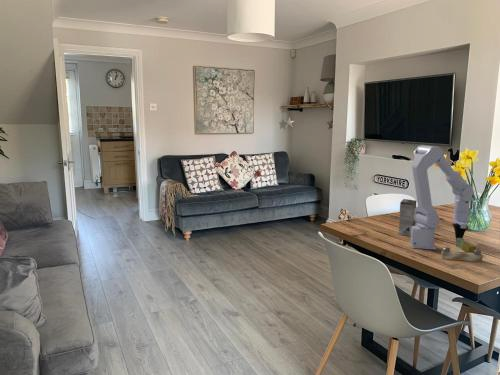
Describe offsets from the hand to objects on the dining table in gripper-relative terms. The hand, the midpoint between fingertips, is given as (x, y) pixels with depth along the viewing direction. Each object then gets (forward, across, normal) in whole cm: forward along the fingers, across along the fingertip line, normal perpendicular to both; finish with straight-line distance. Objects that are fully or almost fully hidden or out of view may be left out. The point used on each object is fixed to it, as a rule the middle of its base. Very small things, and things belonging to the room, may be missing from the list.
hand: (458, 240), depth 174 cm
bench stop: (+2, -22, +3) cm, 22 cm away
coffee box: (+2, +11, +21) cm, 24 cm away
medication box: (+2, -9, -1) cm, 10 cm away
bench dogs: (+2, -22, +3) cm, 22 cm away
